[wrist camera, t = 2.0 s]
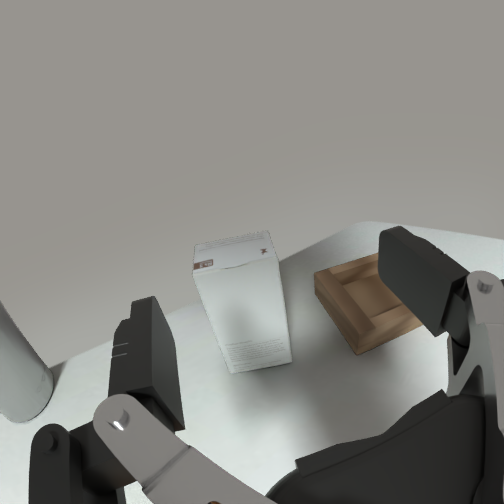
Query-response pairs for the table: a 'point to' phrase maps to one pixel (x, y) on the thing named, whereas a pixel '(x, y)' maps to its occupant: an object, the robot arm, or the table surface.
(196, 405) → the table surface
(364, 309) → the wooden tray
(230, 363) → the skincare box
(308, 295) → the table surface
